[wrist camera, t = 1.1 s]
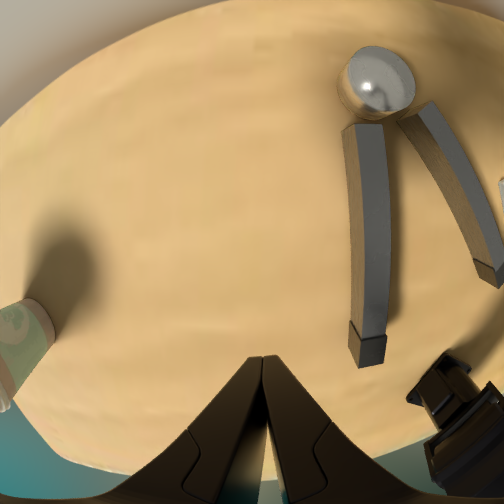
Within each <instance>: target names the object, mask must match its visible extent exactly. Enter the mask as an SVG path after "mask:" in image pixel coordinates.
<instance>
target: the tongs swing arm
mask: <svg viewBox="0 0 504 504" xmlns="http://www.w3.org/2000/svg"><path fill="white" fill-rule="evenodd" d="M337 91H338V94H339V97H340V99H341V101H342V102H343V104H344V105H345V106H346V108H347V109H348V110H349V111H351V112H352V113H353V114H355V115H356V116H358V117H360V118H363V119H367V120H379V119H382V118H384V117H386V116H389V115H391V114H393V113H395V112H397V111H400V110H402V109H404V108H406V107H407V106H409V105H410V104H411V102H412V101H413V99H414V96H415V91H416V86H415V80H414V77H413V74H412V72H411V70H410V69H409V67H408V66H407V64H406V63H405V62H404V61H403V60H402V59H401V58H400V57H399V56H398V55H396V54H395V53H393V52H392V51H390V50H388V49H385V48H382V47H377V46H368V47H364V48H362V49H360V50H358V51H357V52H356V53H355V54H354V56H353V57H352V58H351V59H350V61H349V62H348V63H347V65H346V66H345V67H344V69H343V70H342V71H341V73H340V74H339V76H338V79H337ZM341 133H342V141H343V148H344V157H345V166H346V176H347V187H348V199H349V214H350V234H351V320H350V321H349V339H348V347H349V349H350V352H351V354H352V356H353V358H354V361H355V363H356V365H357V367H358V369H359V368H364V367H369V366H374V365H378V364H383V363H384V357H385V350H386V343H387V335H386V334H385V332H386V323H387V313H388V302H389V288H390V267H391V213H390V192H389V178H388V166H387V157H386V148H385V140H384V133H383V126H382V124H353V125H351V126H350V127H348V128H346V129H344V130H343V131H341Z"/></svg>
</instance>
